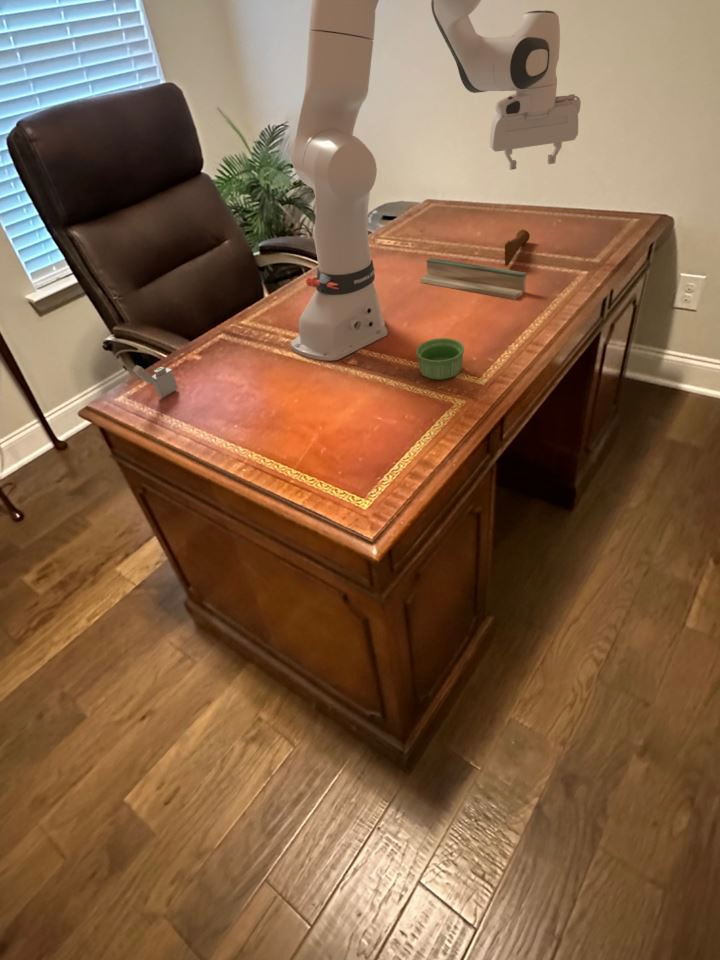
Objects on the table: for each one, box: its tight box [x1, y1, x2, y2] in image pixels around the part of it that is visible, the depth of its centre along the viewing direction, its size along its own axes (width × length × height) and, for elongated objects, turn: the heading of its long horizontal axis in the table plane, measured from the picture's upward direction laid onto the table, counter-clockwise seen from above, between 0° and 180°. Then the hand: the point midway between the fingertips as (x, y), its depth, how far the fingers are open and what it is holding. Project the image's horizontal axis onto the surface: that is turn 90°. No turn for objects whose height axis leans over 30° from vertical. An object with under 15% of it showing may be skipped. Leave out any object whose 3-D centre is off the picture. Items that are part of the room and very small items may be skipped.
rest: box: [420, 257, 527, 301], centre depth 139 cm, size 4×26×4 cm, turn 51°
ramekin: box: [415, 337, 465, 380], centre depth 111 cm, size 9×9×4 cm
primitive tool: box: [504, 229, 531, 267], centre depth 149 cm, size 19×6×4 cm
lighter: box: [132, 364, 179, 398], centre depth 115 cm, size 7×2×8 cm, turn 143°
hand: (531, 166), depth 143 cm, fingers open, 8 cm apart
